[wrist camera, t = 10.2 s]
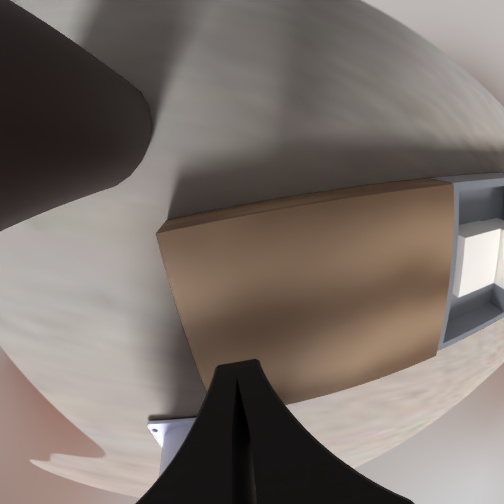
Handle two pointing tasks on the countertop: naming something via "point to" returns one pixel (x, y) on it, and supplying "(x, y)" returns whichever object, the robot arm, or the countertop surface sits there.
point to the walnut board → (315, 283)
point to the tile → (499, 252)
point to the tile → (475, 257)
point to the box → (465, 211)
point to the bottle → (60, 119)
